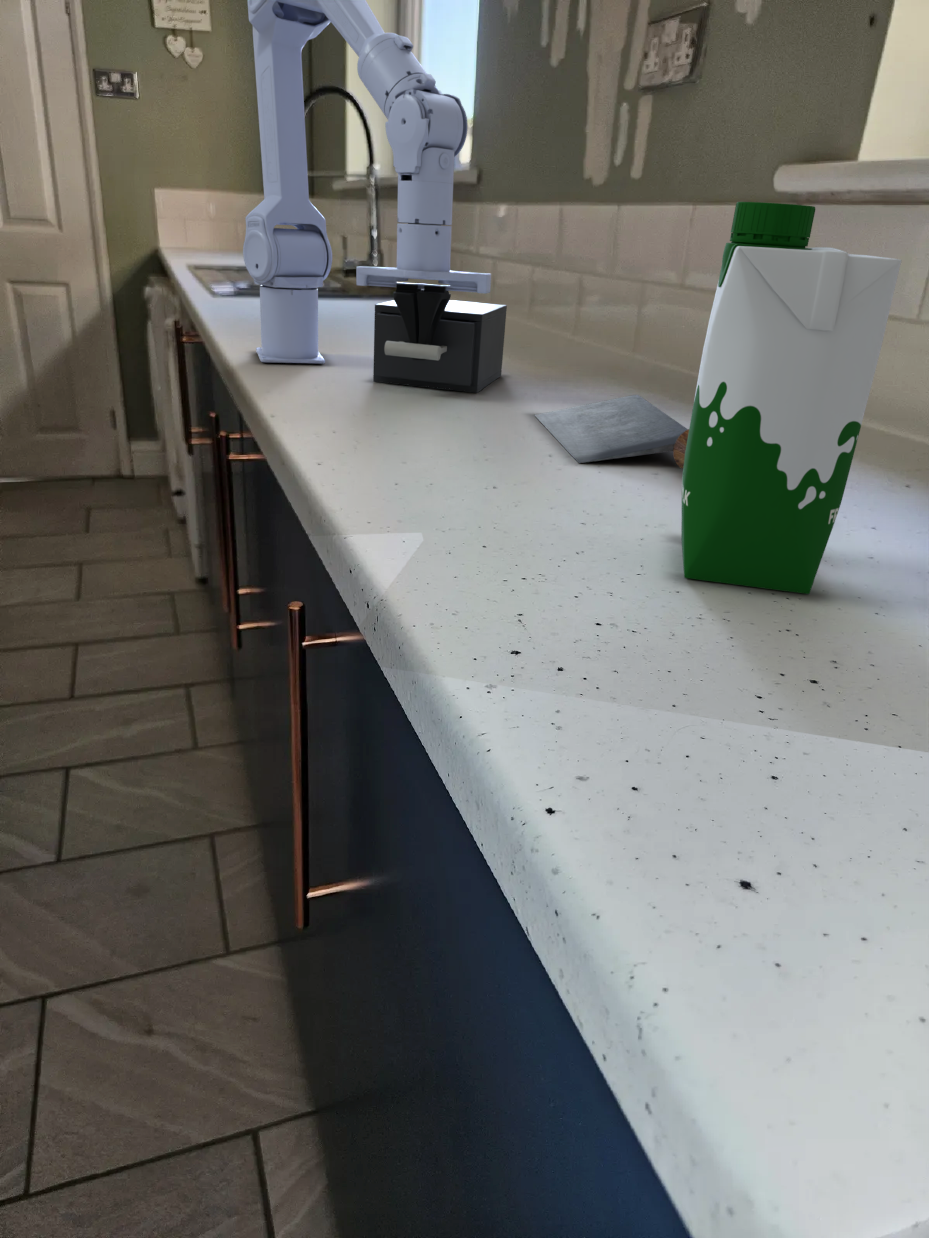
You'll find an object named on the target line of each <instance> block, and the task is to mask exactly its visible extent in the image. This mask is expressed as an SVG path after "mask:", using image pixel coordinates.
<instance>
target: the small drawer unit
mask: <svg viewBox="0 0 929 1238" xmlns="http://www.w3.org/2000/svg"><path fill="white" fill-rule="evenodd" d="M507 308H508V305H507V304H496V303H486V302H477V301H465V300H455V299H450V300H449V302H448V304H447V306H446V308H445V310H444V312H443V314H442V316H441V318H446V319H457V320H467V321H475V322H476V337H475V352H474V366H473V381H472V385H471V386H464V385H455V384H446V383H437V382H428V381H419V380H410V379H401V378H392V377H383V376H375V343H376V314H378V313H383V314H393V313H395V314H400V311H399V309H398V307H397V305H396V303H395V301H394V299H393V300H388V301H383V302H379V303H375V304H374V320H373V321H374V324H373V325H374V326H373V327H374V328H373V330H374V331H373V371H372V372H373V374H372V378H373V379H372V382H375V383H384V384H391V385H392V384H394V385H401V386H410V387H411V386H412V387H420V388H429V389H437V390H447V391H454V392H455V391H456V392H465V393H472V394H477V393H479V392H480V391H482V390H483V389H484V388H486V387H487V386H489V385H490V384H492V383H493V382H495V381H496V380H497V379H499V378H500V377H502V371H503V370H502V369H503V359H504V347H505V346H504V345H505V334H506V321H507Z"/></svg>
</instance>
